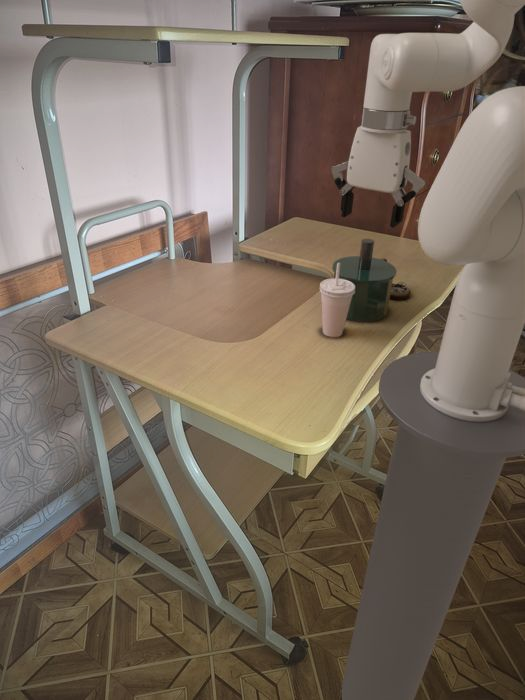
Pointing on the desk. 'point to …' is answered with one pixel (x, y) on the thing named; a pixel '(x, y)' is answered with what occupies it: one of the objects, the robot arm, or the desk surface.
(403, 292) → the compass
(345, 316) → the smoothie
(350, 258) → the lid
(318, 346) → the desk surface
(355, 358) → the desk surface
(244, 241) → the desk surface
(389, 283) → the pot
